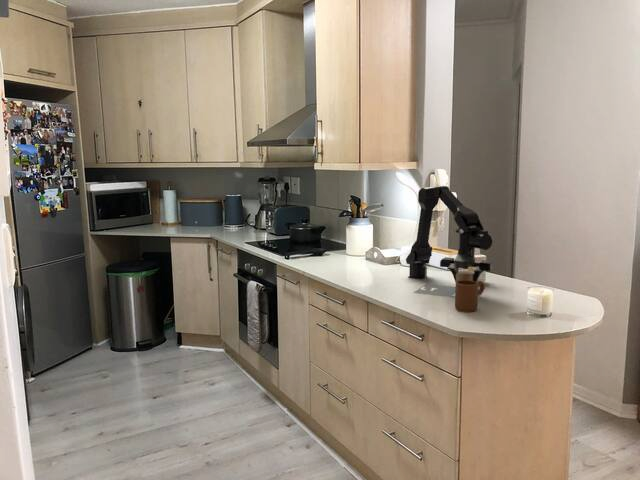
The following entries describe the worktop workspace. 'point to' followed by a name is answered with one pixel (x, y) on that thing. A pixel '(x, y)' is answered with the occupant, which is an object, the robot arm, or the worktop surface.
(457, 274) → the walnut cube
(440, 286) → the mat
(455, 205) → the robot arm
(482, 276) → the ink box
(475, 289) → the mug
